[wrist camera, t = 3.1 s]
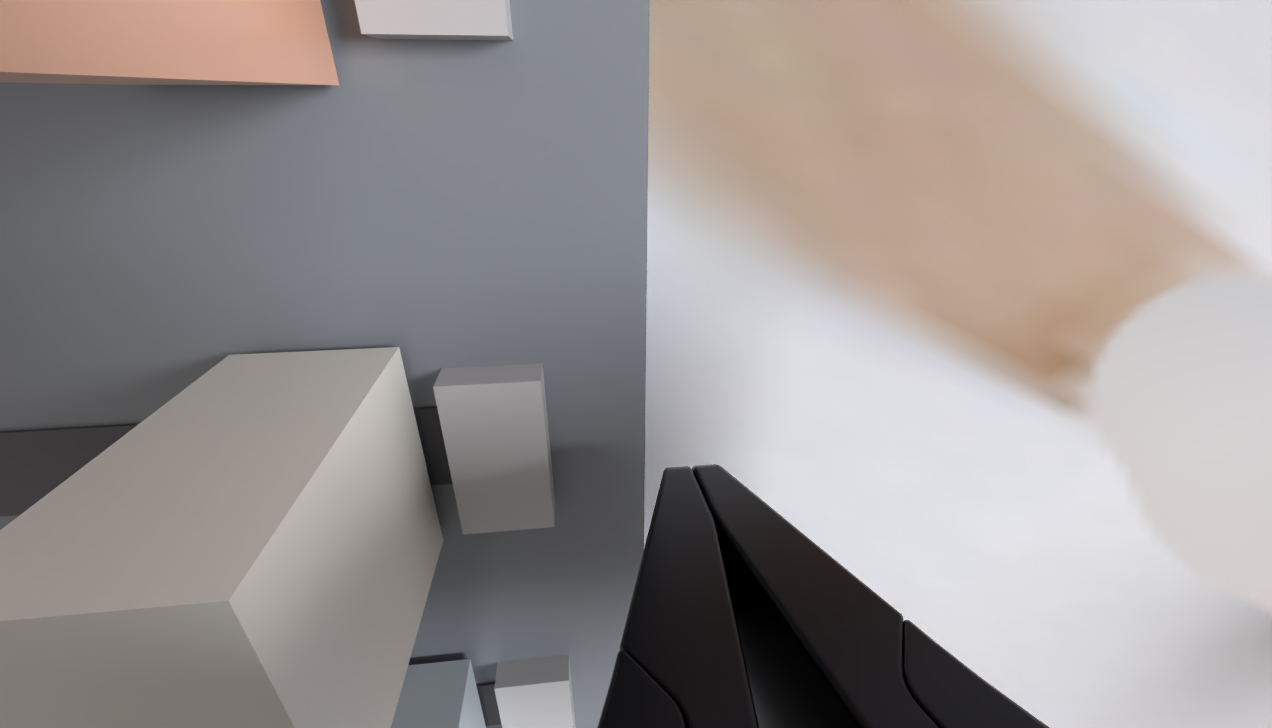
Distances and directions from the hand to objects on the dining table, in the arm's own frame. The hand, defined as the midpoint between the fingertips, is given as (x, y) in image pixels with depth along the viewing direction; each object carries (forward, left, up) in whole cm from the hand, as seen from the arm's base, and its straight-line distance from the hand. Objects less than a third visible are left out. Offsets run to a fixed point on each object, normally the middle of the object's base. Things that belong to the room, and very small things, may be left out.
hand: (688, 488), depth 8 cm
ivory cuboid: (+5, 0, -1) cm, 6 cm away
